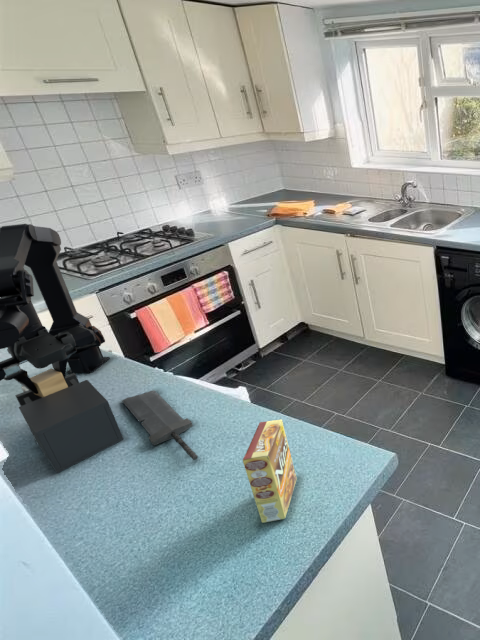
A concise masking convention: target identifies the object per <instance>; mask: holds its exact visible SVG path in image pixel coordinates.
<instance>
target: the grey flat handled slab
mask: <svg viewBox="0 0 480 640" xmlns="http://www.w3.org/2000/svg"><path fill="white" fill-rule="evenodd" d="M121 402H122V403H123V405H125V406H126V408H127V409H128V411H130V413H131V414H132V415H133V416H134V417H135V419H136V420H137V421H138V422H139V423H140V425H141V426H142V428H144V429H145V431H146V432H147V433H148V434H149V435H150V436H148V440H149V442H150V443H151V445H153V446H156V445H159V444H161V443H163V442H167V441H169V440H172V439H174V441H175V442H176V443H177V444H178V445H179V446H180V448H182V449H183V451H184V452H185V453H186V454H187V455H188V456H189V457H190V458H191V460H192V461H196V460H197V459H198V458H199V456H198V455H197V454H196V452H195V451H193V449H192V448H191V447H190V446H189V445H188V444H187V443H186V441H184V440H183V439H182V438H181V436H180V435H181V434H183V433H184V432H185V431H187V430H188V429H190V428H192V427H193V422H192V421H191V420H190V419H189V418H188V417H187V418H182V417H181V416H180V414H179V413H178V412H177V411H175V409H174V408H173V407H172V406H171V405H170V404H169V403H168V402H167V401H166V400H165V399H164V398H163V397H162V396H161V395H160V394H159V393H158V392H157V391H156V390H149V391H147V392H144V393H142V394H141V393H140V394H137V395H133V396H130V397H129V396H128V397H126V398H124V399H122V400H121Z"/></svg>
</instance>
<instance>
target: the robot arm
mask: <svg viewBox="0 0 480 640" xmlns="http://www.w3.org/2000/svg"><path fill="white" fill-rule="evenodd" d="M61 246H62V240H61V236H60V234H59V233H58V231H56V230H55V229H53V228H51V227H47V226H46V227H45V226H38V225H37V226H36V225H33V224H32V223H19V224H10V225H2V226H1V227H0V350H3V349H4V350H5V349H6V351H7V352H8V354H9V355H10V356H11V357H9V358H7V359H4V360H1V361H0V382H1V381H12V380H14V381H16V382H17V383H19V384H20V385H22V386H24V387H26V388H27V389H29V390H30V391H31V392H33V393H35V394H38V390H37V388H36V386H35V385H34V384H33V382H32V381H31V379H30V378H31V377H29V374H28V371H27V370H25V369H23V368H21V366H20V365H22V364H25V363H27V362H28V363H29V364H31V365H32V367H34V368H35V369H44V368H47V367H49V366H50V365H52V369H53V370H56V371H58V372H61V373H62V375H63V377H64V379H65V376H67V375H69V374H72V373H75V374H84V373H85V374H86V373H94V372H95V371H97V370H98V369H99V368H100V367H102V366H103V365H104V364H105V363H107V362H108V361H109V360H111V357H110V356H103V353H102V350H101V348H100V347H101V346H102V344H105V343H106V339H105V337H104V335H103V333H102V331H101V329H98V328H97V327H96V326H95V325H92V323H91V320H90V318H88V317H86V316H85V315H83V314H81V313H79V312H78V311H77V309H76V307H75V304H74V301H73V299H72V296H71V294H70V292H69V288H68V287H67V284H66V281H65V278H64V277H63V274H62V272H61V269H60V267H59V264H58V262H57V260H58V258H59V256H60V252H61V251H62V247H61ZM25 266H26V267H27V268H29V269H30V270H31V272H32V274H30V273H29V272H28V271H27V270H26V269H25ZM32 275H33V276H32ZM34 279H35V282H36V284H37V286H38V289H39V291H40V294H41V296H42V299H43V300H44V303H45V305H46V307H47V310H48V312H49V314H50V317H51V320H52V323H51V326H50V328H49V330H48V329H47V327H46V326H44V325H43V323H42V321H41V319H40V317H39V314H38V313H37V310H36V308H35V306H34V305H33V302H32V297H34V296H35V292H34V291H35V290H34ZM67 366H68V367H69V369H68V370H67Z"/></svg>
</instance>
